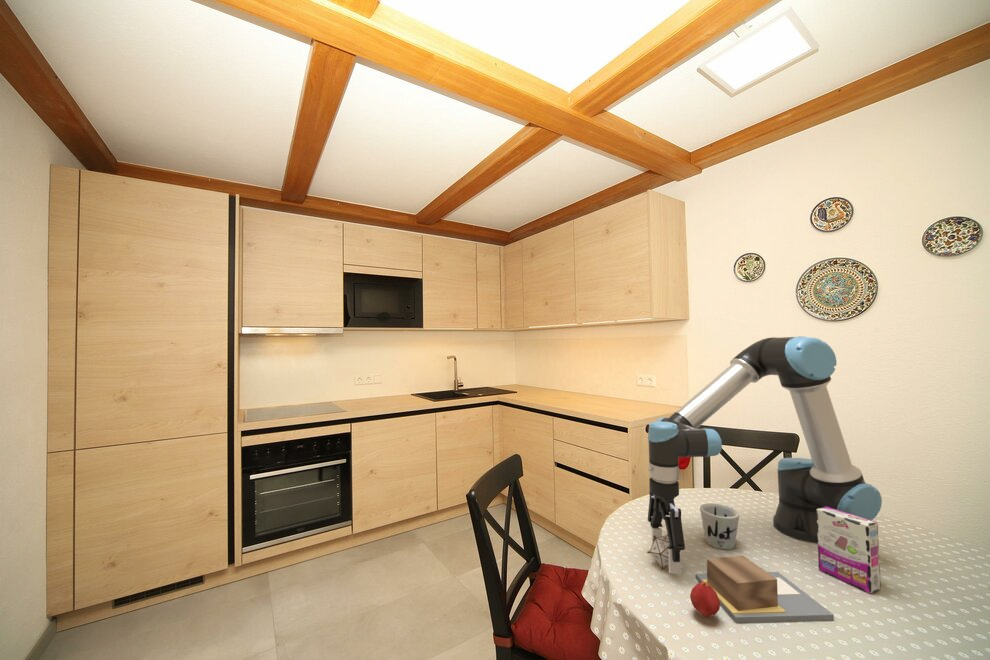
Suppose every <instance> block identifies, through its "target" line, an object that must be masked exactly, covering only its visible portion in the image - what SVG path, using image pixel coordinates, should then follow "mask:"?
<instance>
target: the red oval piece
mask: <svg viewBox="0 0 990 660" xmlns="http://www.w3.org/2000/svg"><path fill="white" fill-rule="evenodd" d="M689 597H690V602H691V605H692V606H693V608H694V609H695V610H696V611H697V612H698V613H699V614H700V615H701V616H702V617H703V618H705V619H708V618H711V617H712V616H715V615H716V614H718V612H719V611H720V608H721V606H720V601H719V598H718V595H717V593H716V592H715V591H714V589H713V588H712V587H711V586H709V585H708V584H707V581H703V582H701V583H699V582H698V583H696V584H695V585H694V586H693V587H692V588H691V591H690V594H689Z"/></svg>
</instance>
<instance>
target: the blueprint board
mask: <svg viewBox="0 0 990 660" xmlns="http://www.w3.org/2000/svg"><path fill="white" fill-rule="evenodd" d="M766 572H767V573H769V574H770V575H772V576H773V577H775V578H776V579H777V592H778V606H777V607H768V608H760V609H751V610H742V611H738V610H737V609H735V608H734V607H733V606H732V605H731V604H730V603H729V602H728V601H726V600H725V599H724V598H723V597H722V596H721V595H720V594H719V593H718V592H716V591H715V590H714V591H715V592H716V593H717V595H718V598H719V601H720V608H722V610H723V611H724V612H725V613H727V616H729V618H730V619H732V621H733V622H735V624H748V623H751V624H752V623H782V622H783V623H785V622H787V623H789V622H819V621H821V622H822V621H823V622H824V621H835V617H834V614H833V613H832V612H830V610H828V609H827V608H826V607H824V606H823V605H822V604H821V603H819V602H818V601H816V600H815V599H814V598H813V597H812V596H810V595H809V594H807V593H806V592H805V591H804V590H802V589H801V588H800V587H798V586H797V585H796V584H795V583H794V582H792V581H791V580H790V579H788V578H787V577H786V576H785V575H783V574H782V573H781V572H779V571H766ZM694 576H695V580H696V581H697V582H698V583H701V582H703V581H707V572H706V573H704V572H703V573H695V575H694ZM707 584H708V583H707ZM708 585H709V584H708ZM709 586H710V585H709Z"/></svg>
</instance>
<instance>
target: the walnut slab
mask: <svg viewBox="0 0 990 660" xmlns="http://www.w3.org/2000/svg"><path fill="white" fill-rule="evenodd" d="M767 572H768V571H766V570H764V568H762V567H761V566H759V565H757V564H756V563H755V562H753V561H752V560H750V559H749V558H748V557H746V556H744V555H735V556H734V555H733V556H721V557H712V558H711V557H710V558H706V573H707V583H708V584H709V585H710V586H711V587H712V588H713V589H714V590H715V591H716V592H718V593H719V594H720V595H721V596H722V597H723V598H724V599H725V600H726V601H728V602H729V603H730V604H731V605H732V606H733V607H734V608H735V609H737V610H738V611H742V610H751V609H760V608H768V607H777V606H778V592H777V579H776V578H775V577H773V576H772V575H770V574H769V573H767Z"/></svg>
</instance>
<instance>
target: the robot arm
mask: <svg viewBox="0 0 990 660" xmlns="http://www.w3.org/2000/svg"><path fill="white" fill-rule="evenodd" d="M729 364H730V365H729V366H727V368H725V370H723V371H722V372H721V373H719V375H717V376H716V377H715V378H714V379H712V381H710V382H709V383H708V384H706V385H705V386H704V387H703V388H702V389H701V390H699V391H698V392H697V393H696V394H695V395H694V396H692V397H691V398H690V399H689V400H688V401H687V402H685V403H684V404H683V405H682V406H681V407H680V408H679V409H677V410H676V411H675V412H674V413H673V414H671V415H670V416H669V417H660V418H657V420H656V421H653V422H651V423H649V426H648V437H647V440H648V462H649V463H648V468H647V470H648V471H649V480H648V481H649V482H648V484H649V501H648V502H649V503H648V510H647V511H648V512H647V522H648V523H650V524H649V525H650V528H651V546H652V545H653V542H654V541H653V539H655V538H654V537H653V535H654V536H656V537H661V536H663V529H662V528H663V524H662V521H664V523H665V527H666V534H667V533H668V538H669V543H670V546H668V552H669V566H668V572H669V574H681V552H680V550H681V551H685V550H686V546H685V537H684V536H685V535H684V530H683V522H682V509H681V508H677V507H676V503H675V499H676V498H677V497H678V496H679V495H680V483H679V480H680V469H679V468H680V467H679V466H680V465H679V458H696V457H698V458H701V457H703V458H704V457H705V458H708V457H716V456H718V455H720V454H721V452H722V450H723V449H722V448H723V445H722V443H723V442H722V438H721V436H720V434H719V433H718V431H716V430H715V429H713V428H705V427H703V428H699V427H700V426H701V425H703V424H704V423H705V422H706V421H707V420H708V419H710V418H711V417H712V416H713V415H715V414H716V413H717V412H718V411H719V410H720V409H721V408H723V407H724V406H726V404H727V403H728V402H730V401H731V400H732V399H733V398H734V397H735V396H737V395H738V394H739V393H740V392H742V390H744V389H745V388H746V387H747V386H748V385H750V384H751V383H757V382H759V380H761V379H763V378H764V377H767V376H772V375H773V376H777V377H778V379H779V383H780V385H781V387H782V388H784V389H785V390H788V391H789V393H790V396H791V399H792V403H793V407H794V410H795V412H796V415H797V418H798V421H799V424H800V427H801V431H802V435H803V436H804V440H805V443H806V446H807V449H808V452H809V455H810V458H805V457H804V458H803V457H783V458H780V459H779V461H778V462H777V463H778V465H777V485H778V505H777V507H776V510H775V513H774V516H773V518H772V523H773V527H774V528H775V530H777V531H778V532H780V533H782V534H784V535H785V536H788V537H789V538H793V539H797V540H800V541H804V542H808V543H815V544H816V543H817V544H818V536H817V512H816V509H819V508H822V507H826V506H827V507H830V508H833V509H836V510H839V511H843V512H846V513H849V514H852V515H855V516H859V517H862V518H865V519H868V520H871V521H874V520H875V518H877V516H878V514H879V512H880V511H881V508H882V500H883V499H882V495H881V493H880V491H879V490H878V488H876V487H875V486H873V485H872V484H871V483H870V484H869V483H866V480H865V478H864V476H863V473H862V470H861V469H860V468H859V467H857V466H856V465H854V464H853V463H852V460H851V458H850V454H849V451H848V449H847V446H846V443H845V439H844V437H843V433H842V430H841V427H840V424H839V421H838V418H837V415H836V412H835V409H834V408H835V407H834V405H833V402H832V399H831V396H830V394H829V390H828V387H827V386H828V385H829V383H830V382H831V381H832V377H831V376H832V375H833V374H834V373H835V371H836V368H835V367H836V366H837V356H836V353H835V352H834V350H833V348H832V347H831V346H830V345H829V344H828V343H827V342H825V341H824V340H821V339H819V338H816V337H808V336H790V337H789V336H786V337H785V336H784V337H774V336H773V337H765V338H763V339H761V340H758V341H756V342H754V343H753V344H751V345H749V346H748V347H746V348H744V349H743V350H742V351H740V352H739V353H738V354H737V355H735V356H734V357H733V358H732V359H731V360H730V363H729Z"/></svg>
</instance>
